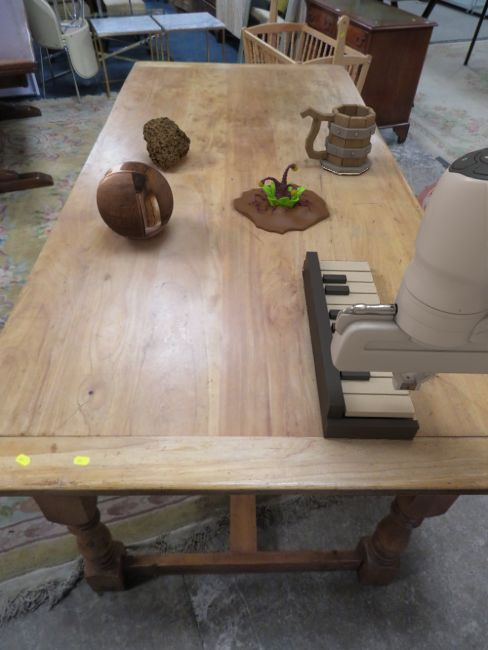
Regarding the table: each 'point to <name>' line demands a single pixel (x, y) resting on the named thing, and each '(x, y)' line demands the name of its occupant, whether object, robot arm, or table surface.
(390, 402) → the white piano key
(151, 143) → the brown porous lump
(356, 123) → the tankard
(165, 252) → the table surface
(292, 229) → the plant
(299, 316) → the table surface
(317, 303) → the keyboard
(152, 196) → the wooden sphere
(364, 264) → the low key
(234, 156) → the table surface
